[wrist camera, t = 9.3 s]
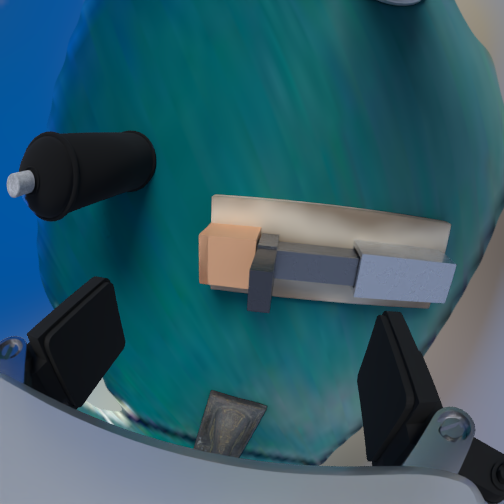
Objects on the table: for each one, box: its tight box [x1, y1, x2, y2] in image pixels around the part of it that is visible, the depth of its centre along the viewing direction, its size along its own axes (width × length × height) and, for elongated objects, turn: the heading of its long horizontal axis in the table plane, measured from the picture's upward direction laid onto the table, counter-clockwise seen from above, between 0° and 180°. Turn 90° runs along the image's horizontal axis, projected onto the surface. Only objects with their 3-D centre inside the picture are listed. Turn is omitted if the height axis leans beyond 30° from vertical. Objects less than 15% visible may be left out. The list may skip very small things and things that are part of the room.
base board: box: [211, 194, 451, 308], centre depth 36 cm, size 12×30×2 cm, turn 87°
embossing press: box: [194, 390, 267, 458], centre depth 37 cm, size 11×24×30 cm, turn 162°
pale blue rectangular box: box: [350, 239, 457, 303], centre depth 32 cm, size 5×12×5 cm, turn 87°
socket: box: [199, 223, 261, 289], centre depth 34 cm, size 6×6×5 cm
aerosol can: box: [7, 131, 156, 221], centre depth 27 cm, size 8×8×20 cm
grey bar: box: [247, 233, 360, 313], centre depth 30 cm, size 4×16×10 cm, turn 87°
